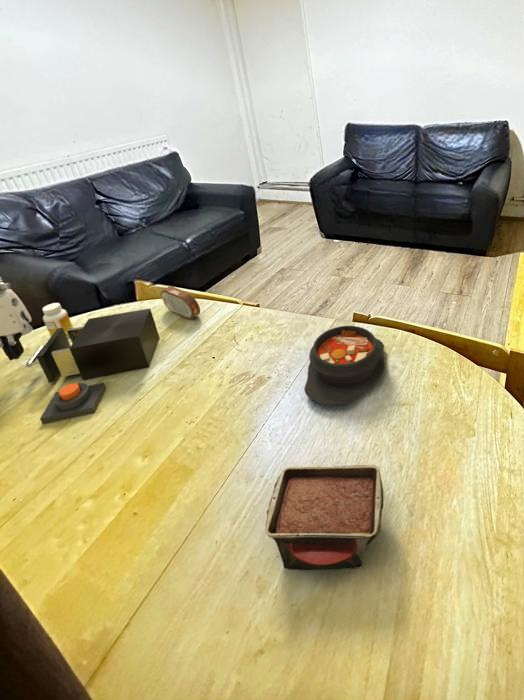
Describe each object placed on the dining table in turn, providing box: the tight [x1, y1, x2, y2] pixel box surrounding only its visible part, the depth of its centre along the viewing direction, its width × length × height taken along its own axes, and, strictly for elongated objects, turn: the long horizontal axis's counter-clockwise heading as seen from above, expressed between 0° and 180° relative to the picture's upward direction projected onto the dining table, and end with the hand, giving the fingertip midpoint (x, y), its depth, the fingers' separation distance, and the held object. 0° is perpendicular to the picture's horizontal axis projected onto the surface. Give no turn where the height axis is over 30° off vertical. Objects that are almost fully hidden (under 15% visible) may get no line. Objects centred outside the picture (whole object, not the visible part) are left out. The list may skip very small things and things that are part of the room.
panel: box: [39, 382, 107, 425], centre depth 93 cm, size 10×8×4 cm
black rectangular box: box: [69, 308, 160, 382], centre depth 106 cm, size 15×13×10 cm
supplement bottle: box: [42, 302, 74, 339], centre depth 116 cm, size 5×5×10 cm
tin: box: [160, 285, 201, 320], centre depth 124 cm, size 15×3×8 cm, turn 59°
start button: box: [58, 382, 81, 401], centre depth 92 cm, size 4×4×2 cm
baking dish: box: [264, 464, 384, 571], centre depth 65 cm, size 14×18×10 cm
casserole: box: [303, 325, 386, 406], centre depth 98 cm, size 25×19×8 cm
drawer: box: [25, 325, 84, 384], centre depth 104 cm, size 18×12×8 cm, turn 106°
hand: (17, 356), depth 100 cm, fingers closed
